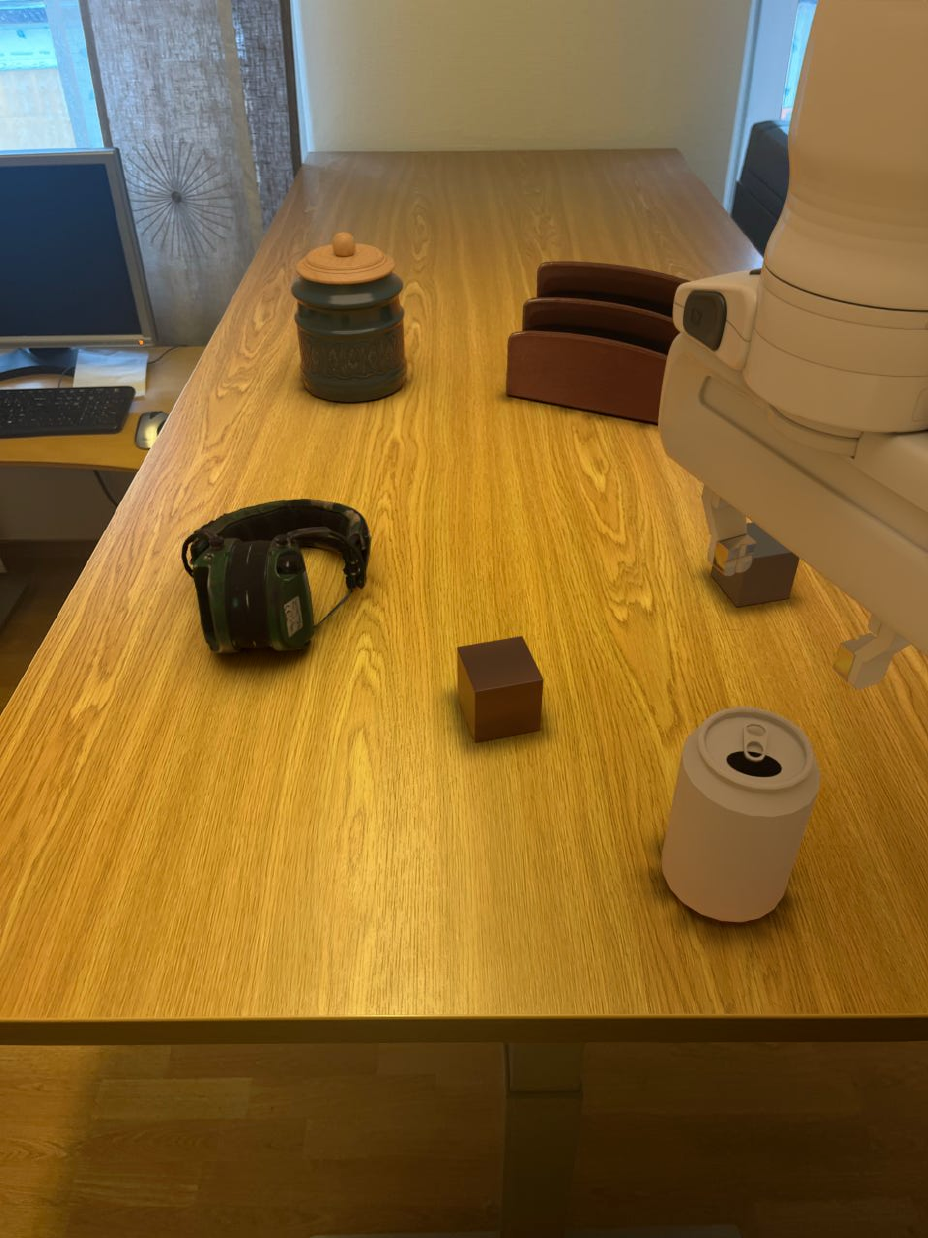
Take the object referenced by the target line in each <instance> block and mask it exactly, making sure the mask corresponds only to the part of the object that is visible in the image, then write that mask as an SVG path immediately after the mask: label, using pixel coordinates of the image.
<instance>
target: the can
mask: <svg viewBox="0 0 928 1238" xmlns="http://www.w3.org/2000/svg"><path fill="white" fill-rule="evenodd" d="M821 779H822V775H821V771H820V767H819V763H818V760H817V759H816V754H815V750H814V747H813V744H812V741H811V740H810V738H809V737H808V735H807V734H806V733H805V732H804V730H802V728H800V727H799V726H797V725H796V724H795V723H794V722H793V721H791V720H790V719H789V718H786V717H784V716H783V715H780V714H778V713H776V712H775V711H771V710H767V709H763V708H760V707H756V706H740V705H739V706H733V707H727V708H721V709H720V710H717V711H716V712H713V713H712V714H709V715H708V716H707V717H706V719H704V720H703V722H702V723H701V724H700V725H699V726H697V727H696V728H695V729H694V730H693V731H692V732H691V733H690V734H689V735H688V736H687V737H686V738H685V742H684V745H683V748H682V751H681V755H680V761H679V765H678V771H677V775H676V781H675V786H674V791H673V796H672V800H671V806H670V811H669V818H668V821H667V825H666V831H665V837H664V841H663V846H662V852H661V857H660V859H661V869H662V870H661V871H662V875H663V877H664V879H665V880H666V883H667V885H668V887H669V889H670V890H671V892H673V893H674V895H675V896H676V897H677V898H678V899H679V900H680V901H681V902H682V904H684V905H685V906H687V907H689V908H690V909H692V910H693V911H695V912H697V913H698V914H700V915H702V916H705V917H708V918H711V919H714V920H718V921H719V922H733V923H744V922H748V921H752V920H757V919H761V918H763V917H764V916H765V915H767V914H769V913H770V912H772V911H774V910H775V908H776V907H777V906H778V904H779V903H780V902H781V900H782V899H783V897H784V895H785V893H786V890H787V886H788V883H789V881H790V877H791V874H792V871H793V868H794V865H795V863H796V859H797V856H798V853H799V851H800V847H801V844H802V841H803V839H804V836H805V833H806V829H807V826H808V824H809V821H810V818H811V815H812V812H813V809H814V806H815V803H816V800H817V797H818V794H819V792H820V785H821Z"/></svg>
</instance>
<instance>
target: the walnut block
mask: <svg viewBox="0 0 928 1238" xmlns="http://www.w3.org/2000/svg"><path fill="white" fill-rule="evenodd" d="M456 657H457V658H456V664H457V665H456V667H457V669H456V671H457V672H456V673H457V675H456V677H457V678H456V679H457V699H458V702H459V704H460V708H461V709H462V712H463V714H464V715H463V716H464V718H465V720H466V723H467V726H468V728H469V731H470V734H471V737H472V739H473V741H474V743H479V742H480V743H481V742H485V741H490V740H495V739H502V738H506V737H512V736H515V735H516V736H517V735H521V734H528V733H532V732H537V731H541V727H542V725H541V724H542V710H543V694H544V680H545V679H544V677H543V675H542V673H541V671H540V669H539V666H538V665H537V663H536V661H535V659H534V657H533V655H532V653H531V650H530V648H529V647H528V644H527V642H526V641H525V639H524V636H522V635H520V636H513V637H508V638H502V639H495V640H489V641H484V642H479V643H472V644H467V645H462V646H457V648H456Z"/></svg>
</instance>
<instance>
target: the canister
mask: <svg viewBox="0 0 928 1238" xmlns="http://www.w3.org/2000/svg"><path fill="white" fill-rule="evenodd" d="M395 268H396V262H395V260H394V259H393V257H391V256H390V255H388V254H386V253H384V252H383V251H382V250H381V249H380V248H379V247H376V246H374V245H369V244H365V243H358V242H357V243H356V240H355V238H354V237H353V235H352V234H351V233H349V232H343V231H342V232H339V233H336V234H335V235H334V237H333V239H332V243H331V244H325V245H322V246H318V247H316V248H314V249H311V250H310V251H309V252H308V253H307V255H306V256H304V257H303V258H301V259H300V260H299V261H297V263H296V265H295V271H296V273H297V274H298V278H296V279H295V280H294V281H293V282H292V284H291V286H290V292H291V295H292V296H293V297H294V299H296V308H297V309H296V311H295V313H294V317H293V318H294V322H295V324H296V331H297V332H296V333H297V340H298V348H299V357H300V363H299V370H300V376H301V379H302V380H303V385H304V388H305V389H306V390H307V391H308V392H309V393H310V394H312V395H314V396H316V397H318V398H320V399H324V400H327V401H333V402H339V403H341V402H342V403H359V402H368V401H372V400H373V401H374V400H377V399H381V398H385V397H387V396H389V395H392V394H393V393H395V392H397V391H398V390H399V389H401V388H402V387H403V385H404V384H405V382H406V376H407V375H406V374H407V372H408V365H407V364H408V359H407V357H406V347H405V346H406V344H405V343H406V342H405V325H404V324H405V323H404V318H405V309H404V307H403V306H402V304H401V300H400V294H401V293H402V292H403V289H404V281H403V279H401V277H400V276H399V275H397V274H396V273H394V270H395Z"/></svg>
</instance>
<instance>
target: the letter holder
mask: <svg viewBox="0 0 928 1238" xmlns="http://www.w3.org/2000/svg"><path fill="white" fill-rule="evenodd" d="M691 281H692V280H690V279H685V278H684V277H683V278H682V277H679V276H675V275H674V274H673V275H672V274H668V273H664V272H660V271H656V270H651V269H646V268H641V267H635V266H629V265H622V264H615V263H605V262H604V263H602V262H593V261H592V262H591V261H574V260H573V261H571V260H569V261H568V260H563V261H562V260H561V261H559V260H558V261H556V260H555V261H553V260H552V261H544V262H542V263H541V264H540V265H539V266H538V268H537V272H536V296H533V297H530V298H527V300H525V301H524V302H523V305H522V320H521V321H522V324H521V327H522V328H521V331H514V332H512V333H510V335H509V336H508V339H507V346H506V347H507V355H506V363H507V364H506V374H505V375H506V378H505V393H506V395H507V396H511V397H517V398H522V399H525V400H526V399H527V400H531V401H535V402H541V403H547V404H553V405H558V406H563V407H567V408H568V407H569V408H574V409H579V410H583V411H588V412H594V413H601V414H605V415H611V416H616V417H620V418H627V419H630V420H636V421H642V422H646V423H651V424H656V425H658V419H659V408H660V400H661V391H662V385H663V379H664V372H665V367H666V362H667V357H668V353H669V350H670V347H671V345H672V342H673V341H674V339H675V338H676V336H677V335H678V334H680V333H681V332H680V331H679V330H678V329H677V328H676V327H675V325H674V322H673V304H674V298H675V293H676V290H677V288H678V287H679V286H680V285H681V284H683V283H687V282H691Z"/></svg>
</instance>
